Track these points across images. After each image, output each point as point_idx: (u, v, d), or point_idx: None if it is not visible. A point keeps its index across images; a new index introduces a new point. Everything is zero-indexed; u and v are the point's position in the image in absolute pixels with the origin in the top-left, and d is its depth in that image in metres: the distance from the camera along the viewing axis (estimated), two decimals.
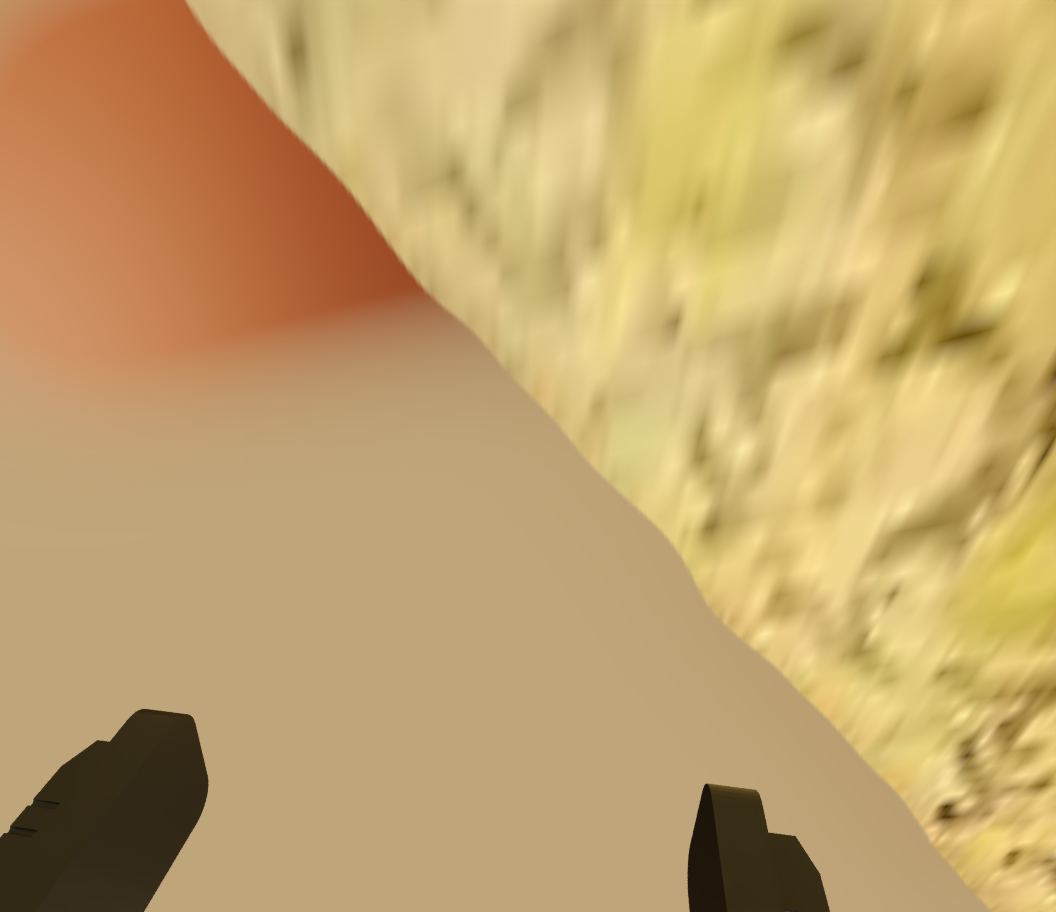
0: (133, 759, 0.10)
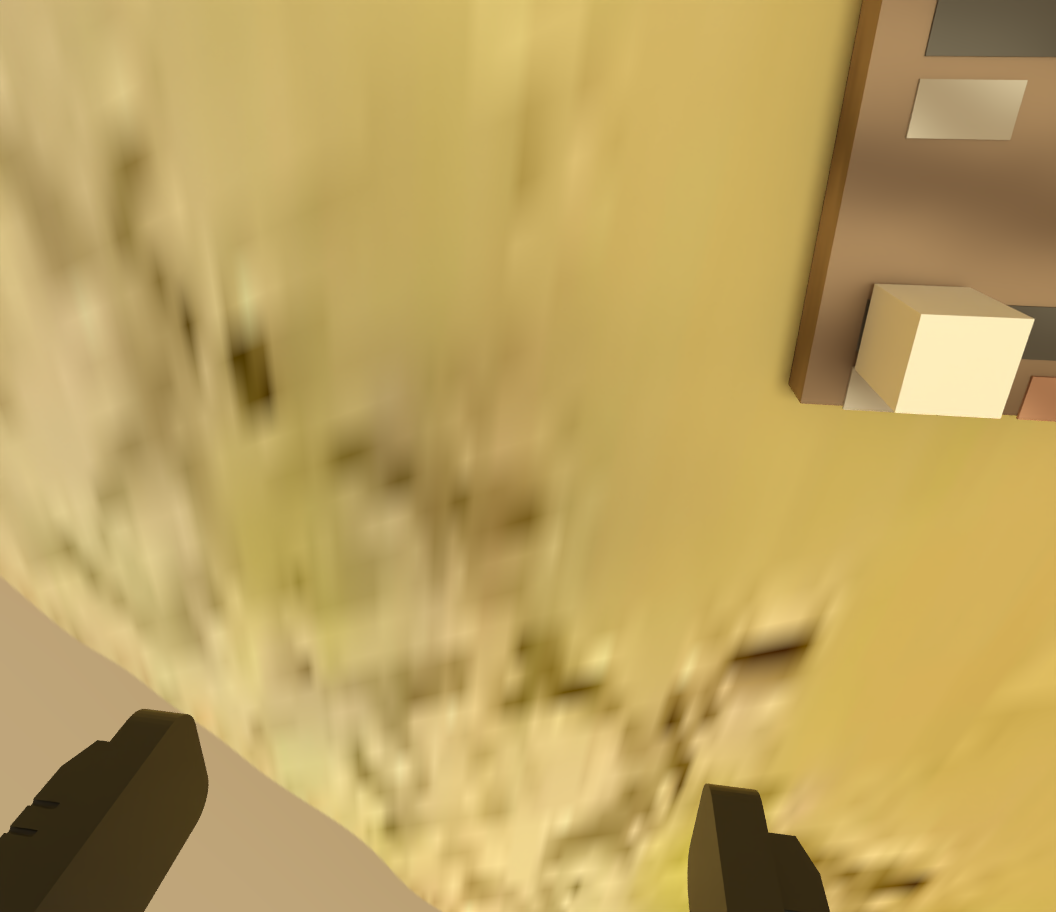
0: (133, 759, 0.10)
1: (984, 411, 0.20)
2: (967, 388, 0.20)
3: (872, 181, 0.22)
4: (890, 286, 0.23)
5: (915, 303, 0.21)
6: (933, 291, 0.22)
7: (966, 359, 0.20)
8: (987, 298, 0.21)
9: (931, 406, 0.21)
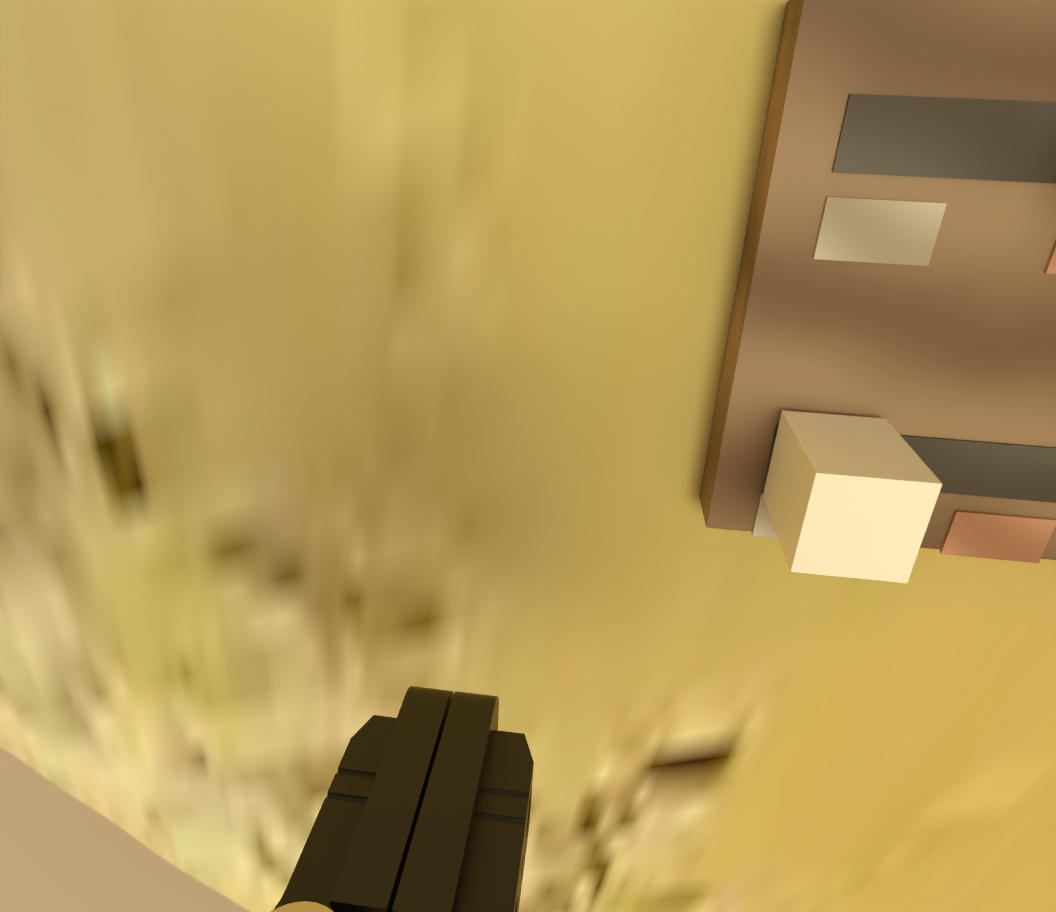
0: (426, 731, 0.10)
1: (889, 575, 0.18)
2: (870, 551, 0.18)
3: (777, 302, 0.20)
4: (797, 416, 0.20)
5: (815, 451, 0.18)
6: (842, 427, 0.20)
7: (867, 521, 0.18)
8: (899, 441, 0.19)
9: (830, 567, 0.18)
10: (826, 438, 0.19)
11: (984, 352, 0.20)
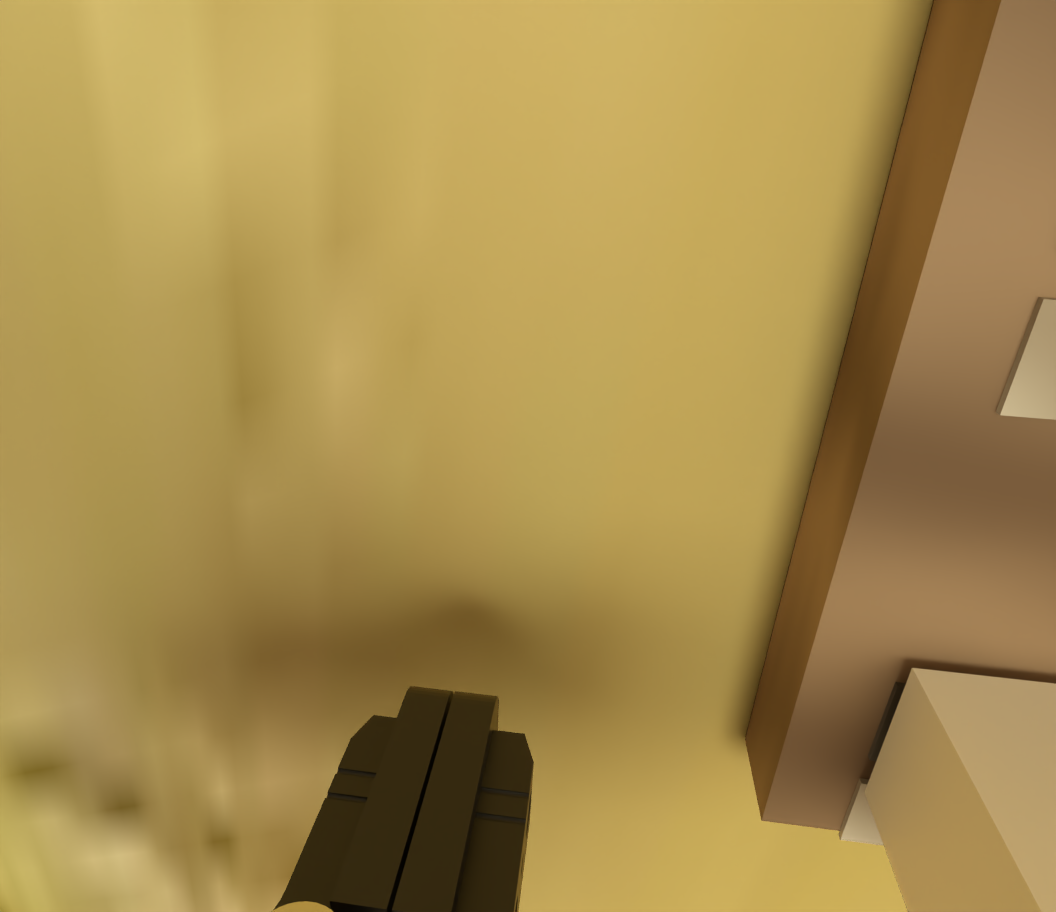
0: (426, 731, 0.10)
1: None
2: None
3: (917, 487, 0.10)
4: (946, 688, 0.11)
5: (1018, 823, 0.09)
6: (1040, 723, 0.10)
7: None
8: None
9: None
10: (1022, 768, 0.10)
11: None
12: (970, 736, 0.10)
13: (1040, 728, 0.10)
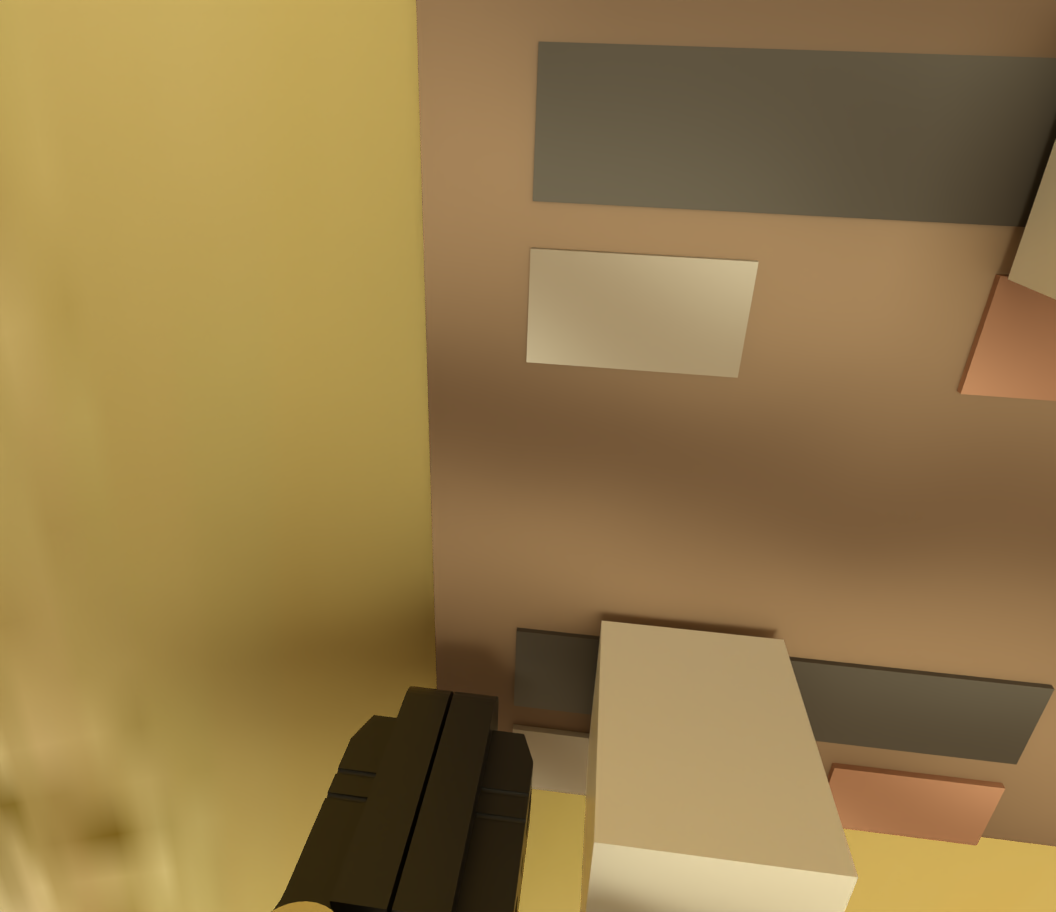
0: (426, 731, 0.10)
1: None
2: None
3: (480, 434, 0.11)
4: (624, 638, 0.11)
5: (619, 756, 0.09)
6: (697, 669, 0.11)
7: None
8: (795, 712, 0.10)
9: None
10: (655, 708, 0.10)
11: (857, 525, 0.11)
12: (621, 681, 0.10)
13: (695, 673, 0.11)
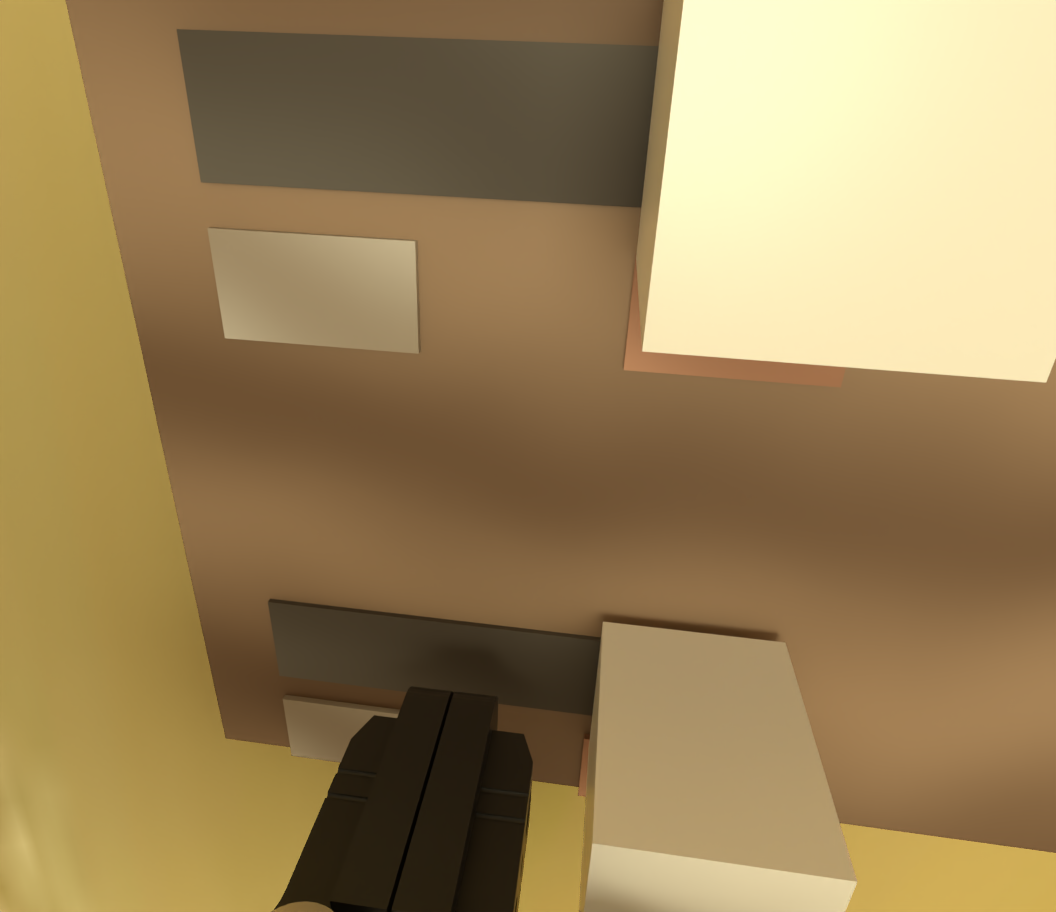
0: (426, 731, 0.10)
1: None
2: None
3: (200, 409, 0.11)
4: (625, 639, 0.11)
5: (618, 758, 0.09)
6: (698, 671, 0.11)
7: None
8: (796, 715, 0.10)
9: None
10: (655, 710, 0.10)
11: (560, 499, 0.11)
12: (621, 682, 0.10)
13: (695, 676, 0.11)
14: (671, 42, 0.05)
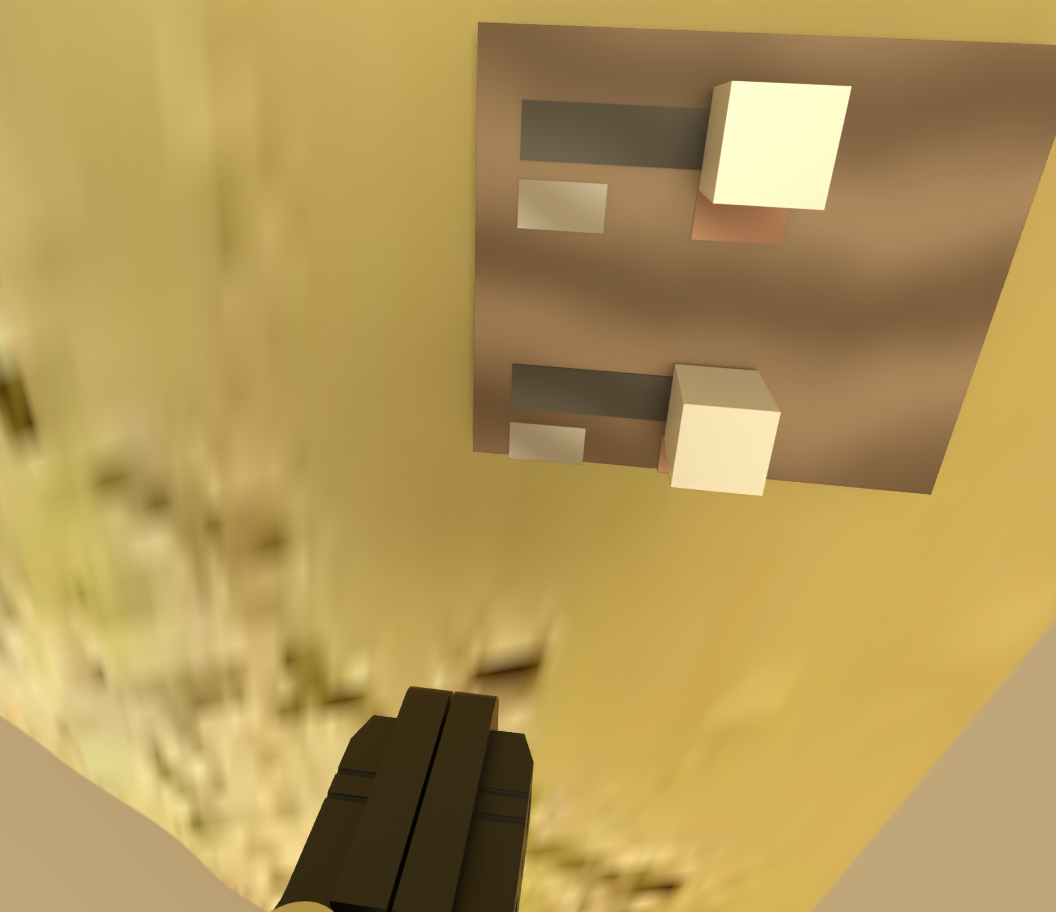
0: (426, 731, 0.10)
1: (747, 489, 0.23)
2: (731, 469, 0.23)
3: (497, 263, 0.25)
4: (686, 368, 0.25)
5: (689, 390, 0.23)
6: (719, 375, 0.25)
7: (726, 443, 0.22)
8: (761, 385, 0.24)
9: (701, 482, 0.23)
10: (702, 382, 0.24)
11: (659, 303, 0.25)
12: (687, 376, 0.24)
13: (718, 376, 0.24)
14: (721, 116, 0.19)
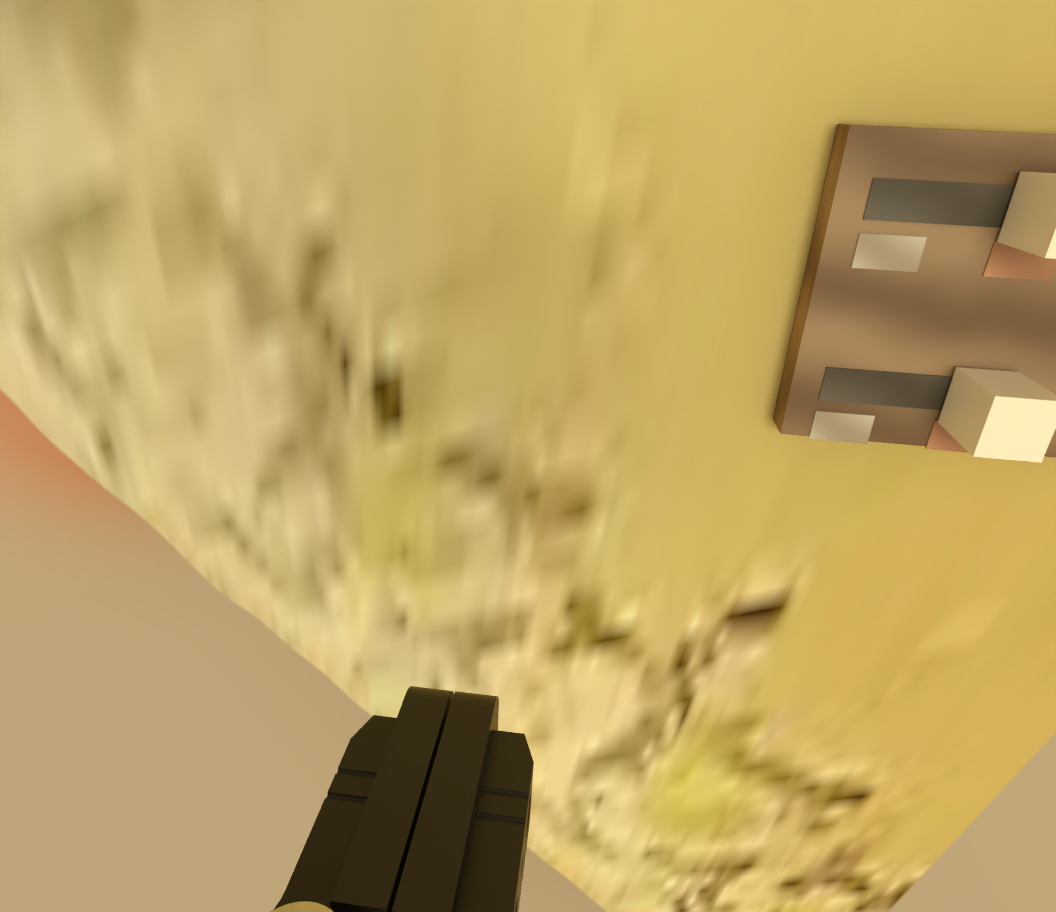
0: (426, 731, 0.10)
1: (1031, 457, 0.32)
2: (1021, 443, 0.32)
3: (829, 292, 0.34)
4: (967, 370, 0.34)
5: (989, 386, 0.32)
6: (997, 375, 0.33)
7: (1021, 424, 0.31)
8: (1033, 382, 0.33)
9: (997, 453, 0.32)
10: (991, 380, 0.33)
11: (949, 322, 0.34)
12: (975, 376, 0.33)
13: (997, 376, 0.33)
14: (1051, 198, 0.28)
